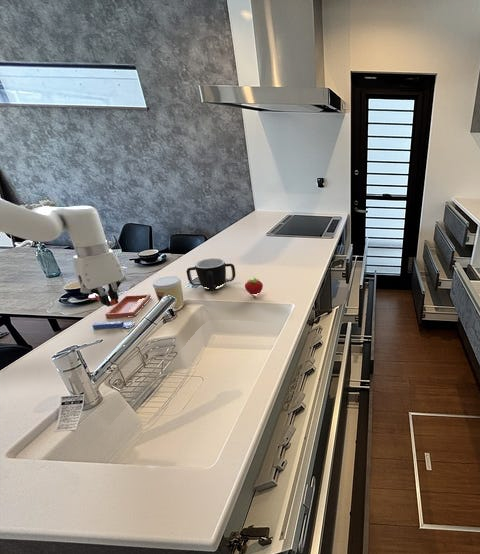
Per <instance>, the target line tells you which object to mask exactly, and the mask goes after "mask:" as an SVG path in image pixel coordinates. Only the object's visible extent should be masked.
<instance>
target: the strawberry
mask: <svg viewBox="0 0 480 554" xmlns="http://www.w3.org/2000/svg"><path fill="white" fill-rule="evenodd" d="M244 288H245V291H246V292H247V293H248V294H249V295H251V294H257V293H259V294H260V293H261V292H262V290H263V288H264V285H263V282H262V281H261V280H259V279H258V278H257V277H253V279H248V280H247V281H246V282H245V284H244Z"/></svg>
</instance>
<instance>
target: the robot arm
mask: <svg viewBox="0 0 480 554" xmlns="http://www.w3.org/2000/svg"><path fill="white" fill-rule="evenodd" d="M0 232H1V233H4V234H6V235H10V236H14V237H17V238H20V239H23V240H27V241H32V242H37V243H48V242H52V241H54V240H57V238H59V237H60V236H61V234H62V233H64V232H67V233H68V235H69V237H70V238H69V239H70V241H71V243H72V245H73V249H74V251H75V255H74V256H73V257H72V258H73V260H72V261H73V266H74V271H75V276H76V280H77V283H78V285H79V286H80V290H79V292H80V293H82V294H97V295H98V296H99V299H100V301H99V302H100V303H101V305H104V306H105V307H111V306H110V305H111V304H110V301H109V298H108V297H111V298H113V299H115V300H116V303H119V299H120V298H119V294H118V291H119V287H120V286H121V284H123V283H124V282H126V281H127V280H128V278H127V277H126V275H124V271H123V268H122V266H121V263H120V261H119V259H118V257H117V256H116V254H115V252H114V250H112V249H111V247H112V246H114V242H113V241H112V240H111V241H108V240H107V237H106V234H105V231H104V227H103V224H102V222H101V218H100V214H99V212H98V210H97V209H96V208H95V207H93V206H89V205H75V206H67V207H61V206H60V207H59V206H58V207H57V206H38V207H34V208H31V209H29V208H26V207H24V206H21V205H18V204H15V203H13V202H10V201H7V200H5V199H3V198H1V197H0ZM104 286H107V288H108V290H107V294H106V292H105V290H104V288H103V287H104Z"/></svg>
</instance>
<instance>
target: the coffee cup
mask: <svg viewBox="0 0 480 554" xmlns="http://www.w3.org/2000/svg"><path fill="white" fill-rule="evenodd" d="M152 287H153V289H154V292H155V295H156V298H157V301H158V302H159V301H160V300H161V299H162V298H163V297H164V296H165V295H171V296H173V297H175V298H176V299H177V303H176V304H175V306H174V307H173V308H174V309H178V308H179V307H180V306H182V305H183V302H184V303H185V301H184V300H185V299H184V294H183V287H182V280H181V278H180V277H178V276H164V277H160V278H158V279H155V280H154V281H153V283H152ZM181 310H182V309H180V310H179V311H181Z"/></svg>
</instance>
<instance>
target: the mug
mask: <svg viewBox="0 0 480 554" xmlns="http://www.w3.org/2000/svg"><path fill="white" fill-rule="evenodd" d="M228 267H230V268H231V277H230V278H227V269H226V268H228ZM191 271H195V273H196V276H197V278H198V281H197V282H196V281H195V280H193V278H192V274H191V273H192V272H191ZM186 276H187V280H188V282H189V283H190V284H191V285H192V286H196V287H197V286H201V287H202V286H203V287H207V288H209V289H210V290H209V291H215V290H214V289H215V288H216V287H217V286H220V285H222V284H224V283H225V284H226V283H229V281H230V282H233V281H234V280H235V278H236V267H235V265H234V264H233V263H226V261H225V260H224V259H222V258H205V259H202V260H199V261H197V262H195V264H194V266H192V267H188V268H187V269H186ZM203 287H202V288H203Z"/></svg>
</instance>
